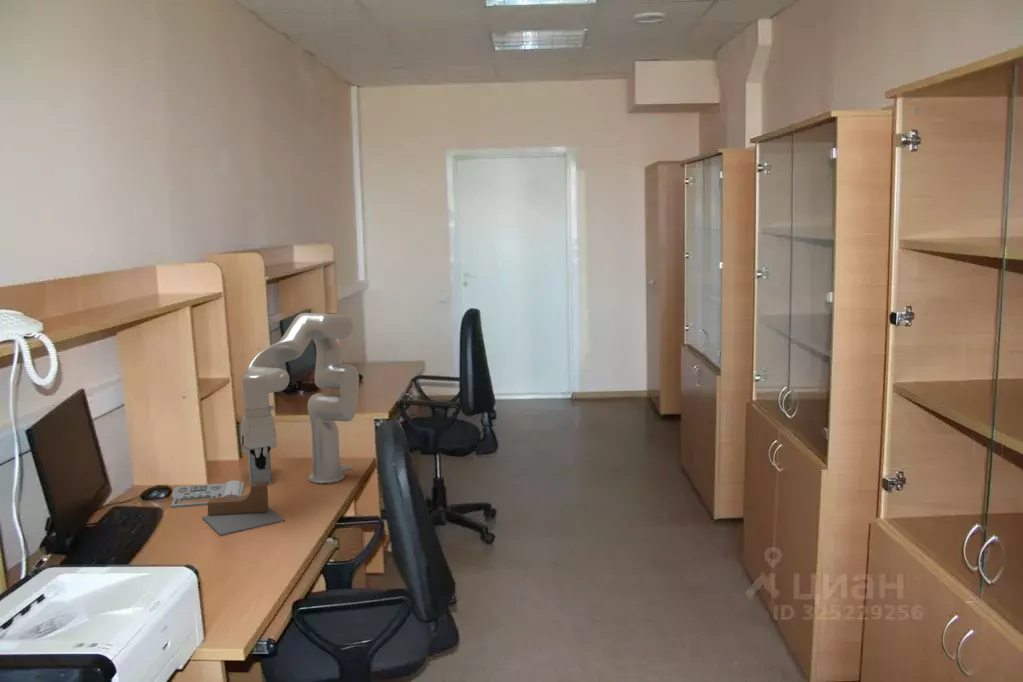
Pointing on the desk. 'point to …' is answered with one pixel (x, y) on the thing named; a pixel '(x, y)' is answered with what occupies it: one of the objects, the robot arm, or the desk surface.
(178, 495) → the office telephone
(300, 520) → the desk surface
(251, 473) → the hard drive box
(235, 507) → the wooden block
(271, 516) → the mat
